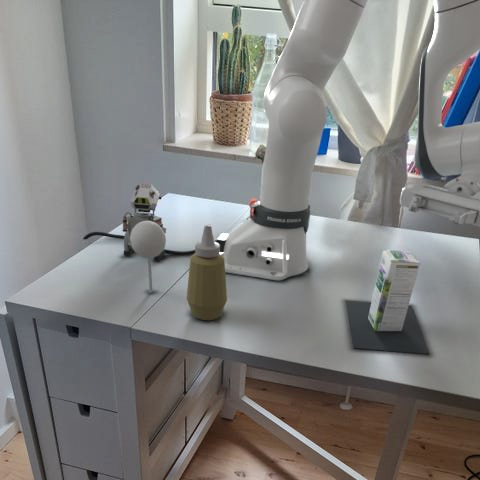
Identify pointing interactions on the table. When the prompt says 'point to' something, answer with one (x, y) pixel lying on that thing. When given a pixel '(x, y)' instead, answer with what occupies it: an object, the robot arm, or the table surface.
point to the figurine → (141, 214)
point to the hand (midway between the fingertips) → (434, 213)
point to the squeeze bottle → (207, 279)
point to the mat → (384, 332)
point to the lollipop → (148, 242)
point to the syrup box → (393, 290)
